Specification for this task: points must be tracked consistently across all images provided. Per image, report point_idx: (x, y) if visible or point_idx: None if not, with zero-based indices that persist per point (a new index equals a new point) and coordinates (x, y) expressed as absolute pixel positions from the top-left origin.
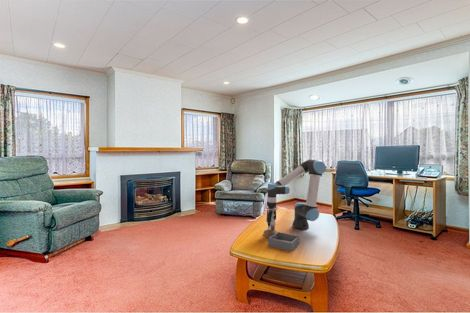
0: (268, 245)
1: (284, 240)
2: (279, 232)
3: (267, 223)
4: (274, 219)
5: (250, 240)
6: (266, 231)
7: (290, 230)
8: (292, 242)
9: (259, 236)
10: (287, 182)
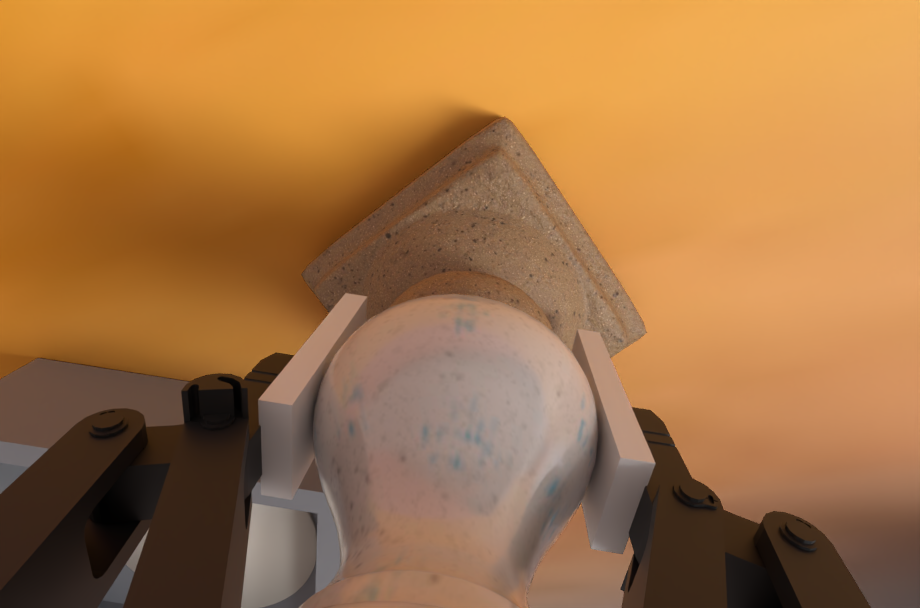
0: (32, 366)
1: (299, 522)
2: (317, 524)
3: (355, 331)
4: (635, 551)
5: (11, 3)
6: (401, 233)
7: (880, 504)
8: None
9: (317, 93)
10: None
